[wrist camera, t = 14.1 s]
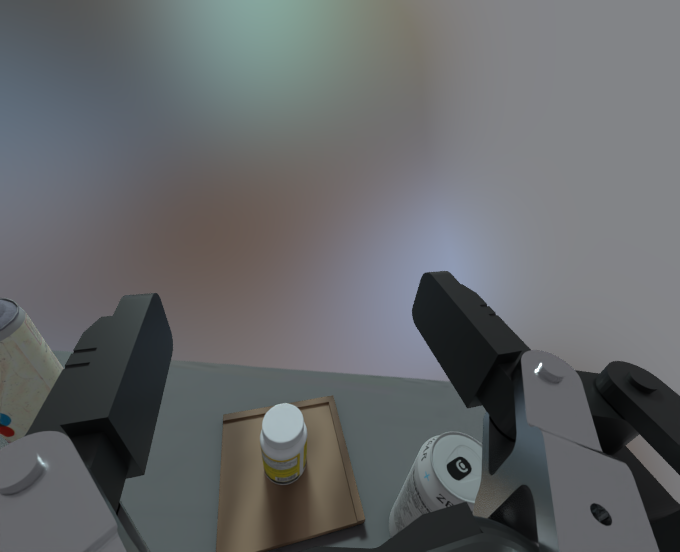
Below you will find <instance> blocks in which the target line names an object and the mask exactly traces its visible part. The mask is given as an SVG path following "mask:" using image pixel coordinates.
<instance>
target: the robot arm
mask: <svg viewBox="0 0 680 552" xmlns="http://www.w3.org/2000/svg"><path fill="white" fill-rule="evenodd" d="M412 316H413V320H414V323H415V325H416V327H417V329H418V330H419V332H420V333H421V335H422V337H423V338H424V340H425V341H426V343H427V345H428V346H429V348H430V349H431V351H432V352H433V354H434V356H435V357H436V359H437V360H438V362H439V363H440V365H441V367H442V368H443V370H444V372H445V373H446V375H447V376H448V378H449V379H450V381H451V383H452V384H453V386H454V388H455V389H456V391H457V392H458V394H459V396H460V397H461V399H462V400H463V402H464V404H465V405H466V407H467V408H471V407H476V406H481V405H483V407H484V408H485V410H486V413H485V414H484V417H483V439H482V471H481V483H480V487H479V490H478V493H477V496H476V499H475V503H474V509H473V513H472V511H471V509H470V507H469V505H468V503H467V501H466V502H463V503H459V504H456V505H453V506H449V507H446V508H443V509H439V510H436V511H433V512H429V513H426V514H423V515H421V516H420V517H418V518H417V519H416V520H414V521H413V522H412V523H410V524H409V525H408V526H406V527H405V528H404V529H402V530H401V531H400V532H398V533H397V534H396V535H394V536H393V537H392V538H390V539H389V540H388V541H387V542H385V543H384V544H383V545H381V546H379V547H377V548H373V549H366V548H342V547H318V546H316V547H313V548H309V549H306V550H303V551H299V552H680V504H679V503H678V502H676V501H675V500H674V499H673V498H672V496H671V495H670V494H669V493H668V492H667V491H666V490H665V489H664V488H663V486H662V485H661V484H660V483H659V482H658V481H657V480H656V479H655V478H654V477H653V475H652V474H650V472H649V471H648V470H647V469H646V468H645V467H644V466H643V465H642V464H641V462H640V461H639V460H638V459H637V458H636V457H635V456H634V455H633V453H631V452H630V450H629V449H628V448H627V447H626V446H625V445H627V444H628V443H629V442H630V441H632V440H633V439H634V438H635V437H636V436H638V435H639V434H640V435H641V436H642V437H643V438H644V439H645V440H646V441H647V442H648V443H649V444H650V445H651V446H652V447H653V448H654V449H655V450H656V451H657V452H658V453H659V454H660V455H661V456H662V457H663V459H665V461H666V462H668V464H669V465H670V466H671V467H672V468H673V469H674V470H675V471H676V472H677V473H678V474H679V475H680V396H679V395H678V394H677V393H675V392H674V391H673V390H672V389H671V388H669V387H668V386H667V385H666V384H664V383H663V382H662V381H661V380H659V379H658V378H657V377H656V376H654V375H653V374H651V373H650V372H648V371H646V370H644V369H642V368H640V367H638V366H636V365H633V364H630V363H627V362H621V361H615V362H611V363H609V364H608V365H607V366H606V367H605V369H604V370H603V371H602V372H601V373H600V374H598V373H590V372H582V371H575V370H574V369H573V368H572V367H571V366H570V365H569V364H568V363H566V362H565V361H563V360H562V359H560V358H559V357H557V356H555V355H553V354H550V353H548V352H544V351H539V350H531V349H529V347H527V346H526V345H525V344H524V342H523V341H522V340H521V339H520V338H519V337H518V336H517V335H516V334H515V333H514V332H513V331H512V330H511V329H510V328H509V327H508V326H507V325H506V324H505V323H504V321H503V320H502V319H501V318H500V317H499V316H496V314H495V312H494V311H493V310H492V309H491V308H490V307H489V306H488V307H487V304H486V303H485V302H484V301H483V299H482V298H480V296H479V295H478V294H477V293H475V292H474V291H472V290H470V289H469V288H467V287H466V286H464V285H461V284H460V283H459V282H458V281H457V280H456V279H455V278H454V276H453V275H452V274H451V273H449V272H448V271H440V272H428V273H424V274H423V276H422V278H421V281H420V284H419V287H418V291H417V294H416V298H415V301H414V304H413V308H412ZM172 351H173V339H172V334H171V330H170V327H169V324H168V321H167V318H166V314H165V312H164V308H163V305H162V302H161V299H160V297H159V295H158V294H157V293H151V294H138V295H126V296H123V297H122V298H121V300H120V302H119V304H118V306H117V308H116V311H115V313H114V314H113V316H107V317H101V318H99V319H98V320H97V321H96V322H95V323H94V324H93V325H92V326H90V327H89V328H88V329H87V330H86V331H85V332H84V333H83V334H82V336H81V338H80V340H79V341H78V343H77V345H76V347H75V348H74V353H73V354H71V355H70V357H69V359H68V361H67V363H66V364H65V369H63V370H62V371H61V373H60V375H59V377H58V379H57V380H56V382H55V384H54V386H53V387H52V389H51V391H50V393H49V394H48V396H47V398H46V400H45V402H44V403H43V405H42V407H41V409H40V410H39V412H38V414H37V416H36V418H35V419H34V421H33V423H32V425H31V426H30V428H29V430H28V431H27V433H26V435H25V436H24V437H22V438H20V439H17V440H15V441H14V442H12V443H10V444H8V445H6V446H5V447H3V448H1V449H0V552H150V550H149V548H148V547H147V545H146V543H145V541H144V540H143V538H142V536H141V535H140V533H139V531H138V530H137V528H136V526H135V524H134V523H133V521H132V519H131V518H130V516H129V514H128V513H127V511H126V509H125V507H124V506H123V504H122V502H121V501H120V497H121V494H122V490H123V486H124V483H125V479H127V478H132V477H137V476H141V475H144V473H145V469H146V465H147V460H148V456H149V452H150V448H151V443H152V439H153V435H154V430H155V426H156V422H157V417H158V413H159V409H160V404H161V400H162V396H163V392H164V387H165V383H166V379H167V374H168V370H169V366H170V361H171V357H172Z"/></svg>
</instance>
